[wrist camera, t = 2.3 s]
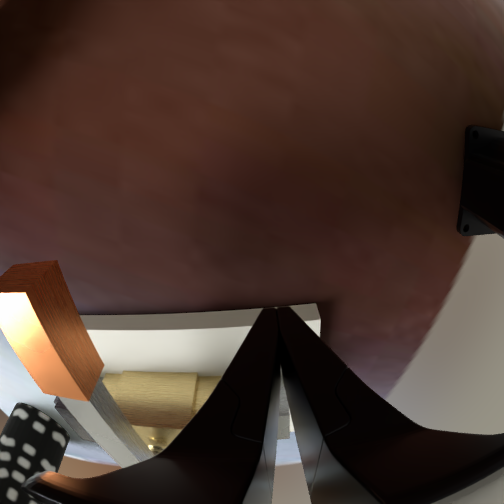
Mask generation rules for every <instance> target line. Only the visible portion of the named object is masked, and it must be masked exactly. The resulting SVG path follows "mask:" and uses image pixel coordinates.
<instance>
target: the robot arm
mask: <svg viewBox="0 0 504 504" xmlns="http://www.w3.org/2000/svg"><path fill="white" fill-rule="evenodd" d="M473 131H474V137H473V135H472V134H473ZM465 225H466V226H465ZM464 226H465V228H464ZM463 228H464V229H463ZM457 231H458V232H459V233H460V234H461V235H462V236H473V235H484V234H494V233H497V234H498V235H499V236H501V237H502V238H504V131H499V130H495V129H490V128H485V127H479V126H474V125H469V126H468V127H467V128H466V131H465V154H464V170H463V182H462V192H461V200H460V208H459V215H458V222H457ZM281 373H282V379H283V384H284V388H285V392H286V396H287V401H288V405H289V409H290V414H291V418H292V422H293V426H294V431H295V435H296V439H297V444H298V448H299V452H300V456H301V461H302V465H303V469H304V474H305V478H306V482H307V486H308V491H309V495H310V499H311V504H504V433H502V434H495V435H482V434H468V433H458V432H449V431H440V430H433V429H428V428H425V427H422V426H420V425H418V424H417V423H415V422H413V421H412V420H410V419H409V418H407V417H406V416H405V415H404V414H402V413H401V412H400V411H398V410H397V409H396V408H394V407H393V406H392V405H391V404H389V403H388V402H387V401H385V400H384V399H383V398H381V397H380V396H379V395H378V394H377V393H375V392H374V391H373V390H372V389H371V388H369V387H368V386H367V385H366V384H365V383H364V382H363V381H362V380H361V379H360V378H359V377H358V376H357V375H355V373H354V372H353V371H352V370H351V369H350V368H347V365H346V364H345V363H344V362H343V361H342V360H341V359H340V358H339V357H338V356H337V355H336V354H335V353H334V352H333V351H332V350H331V349H330V348H329V347H328V346H327V345H326V344H325V342H324V341H323V340H322V339H321V338H320V337H319V336H318V335H317V334H316V333H315V332H314V331H313V330H312V329H311V328H310V327H309V326H308V325H307V324H306V323H305V322H304V321H303V320H302V319H301V317H300V316H299V315H298V314H297V313H296V312H295V311H294V310H293V309H292V308H291V307H290V306H283V307H277V309H276V308H274V307H272V308H263V309H262V310H261V312H260V314H259V315H258V317H257V319H256V320H255V322H254V324H253V326H252V327H251V329H250V331H249V332H248V334H247V336H246V337H245V339H244V341H243V343H242V344H241V346H240V348H239V349H238V351H237V353H236V354H235V356H234V358H233V359H232V361H231V363H230V364H229V366H228V368H227V369H226V371H225V373H224V374H223V376H222V377H221V380H219V382H218V384H217V385H216V387H215V389H214V390H213V392H212V393H211V395H210V396H209V398H208V399H207V401H206V402H205V403H204V404H203V406H202V407H201V408H200V409H199V411H198V412H197V413H196V414H195V416H194V417H193V418H192V419H191V420H190V421H189V422H188V424H187V425H186V426H185V427H184V428H183V429H182V431H181V432H180V433H179V434H178V435H177V436H176V437H175V438H174V440H173V441H172V442H171V443H170V444H169V445H168V446H167V447H166V448H165V449H164V450H163V451H161V452H160V453H159V454H157V455H155V456H154V457H152V458H150V459H147V460H144V461H142V462H139V463H136V464H133V465H131V466H128V467H125V468H122V469H119V470H116V471H113V472H110V473H107V474H104V475H101V476H96V477H92V478H83V479H81V478H71V477H67V476H64V475H61V474H59V473H56V472H52V471H44V472H41V473H39V474H36V475H34V476H32V477H30V478H29V479H27V480H26V481H25V482H24V483H23V484H22V486H21V488H22V489H23V490H24V491H25V492H26V493H28V494H29V495H30V496H32V497H34V498H35V499H37V500H38V501H40V502H41V503H43V504H271V503H272V492H273V482H274V471H275V460H276V447H277V434H278V420H279V405H280V389H281ZM0 504H3V503H2V502H0Z"/></svg>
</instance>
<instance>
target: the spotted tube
mask: <svg viewBox="0 0 504 504" xmlns="http://www.w3.org/2000/svg"><path fill="white" fill-rule="evenodd" d="M69 439H70V437H69V435H68V433H67V432H66V431H65V430H64V429H63V428H62V427H61V426H60V425H59V424H58V423H57V422H55V421H54V420H53V419H51V418H50V417H48V416H47V415H46V414H44V413H42V412H41V411H39V410H37V409H35V408H33V407H31V406H29V405H26V404H23V403H17V404H16V405H15V407H14V409H13V411H12V413H11V415H10V417H9V419H8V421H7V423H6V425H5V427H4V429H3V431H2V433H1V435H0V502H2V503H3V504H43V503H41V502H40V501H38V500H37V499H35V498H34V497H32V496H30V495H29V494H28V493H26V492H25V491H24V490H23V489H22V488H21V486H22V484H23V483H24V482H25V481H26V480H27V479H29V478H30V477H32V476H34V475H36V474H39V473H41V472H44V471H52V472H56V473H58V470H59V467H60V464H61V461H62V459H63V456H64V453H65V450H66V448H67V445H68V442H69Z"/></svg>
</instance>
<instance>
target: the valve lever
mask: <svg viewBox="0 0 504 504" xmlns="http://www.w3.org/2000/svg"><path fill="white" fill-rule="evenodd" d="M0 327H1V329H2V331H3V332H4V334H5V336H6V338H7V339H8V341H9V343H10V344H11V346H12V348H13V349H14V351H15V352H16V354H17V356H18V357H19V359H20V360H21V362H22V363H23V365H24V366H25V368H26V369H27V371H28V372H29V374H30V375H31V376H32V378H33V379H34V381H35V382H36V383H37V385H38V386H39V388H40V389H41V390H42V392H43V393H45V394H50V395H55V396H58V397H59V398H60V400H61V401H62V402H63V404H64V405H65V406H66V407H67V409H68V410H69V411H70V412H71V414H72V415H73V416H74V417H75V418H76V420H77V421H78V422H79V423H80V424H81V425H82V427H83V428H84V429H85V430H86V431H87V432H88V433H89V434H90V436H91V437H92V438H93V439H94V440H95V441H96V442H97V443H98V444H99V445H100V446H101V447H102V448H103V449H104V450H105V451H106V453H107V454H108V455H109V456H110V457H111V458H112V459H114V460H115V461H116V462H117V463H118V464H119V465H120V466H121V467H122V468H125V467H128V466H131V465H133V464H136V463H139V462H142V461H144V460H147V459H150V458H152V457H154V456H155V455H157V454H159V453H160V452H161V451H163V450H164V448H162V447H159V446H155V445H149V446H147V445H146V444H145V442H144V441H143V440H142V439H141V437H140V436H139V435H138V433H137V432H136V431H135V429H134V428H133V427H132V425H131V424H130V422H129V421H128V420H127V418H126V417H125V415H124V414H123V412H122V411H121V410H120V408H119V407H118V405H117V404H116V402H115V401H114V399H113V398H112V396H111V395H110V393H109V391H108V390H107V388H106V387H105V385H104V383H103V382H102V380H101V379H100V374H101V372H102V370H103V368H104V363H103V361H102V359H101V358H100V356H99V354H98V352H97V350H96V348H95V346H94V344H93V342H92V340H91V338H90V336H89V334H88V332H87V330H86V328H85V326H84V324H83V322H82V320H81V317H80V315H79V313H78V311H77V309H76V306H75V304H74V302H73V299H72V297H71V295H70V292H69V290H68V287H67V285H66V282H65V280H64V277H63V275H62V272H61V270H60V267H59V264H58V261H57V260H54V261H44V262H35V263H25V264H16V265H13V266H12V267H10V268H9V269H8V270H7V271H6V272H5V273H4V274H3V275H2V276H1V277H0Z"/></svg>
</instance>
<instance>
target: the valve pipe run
mask: <svg viewBox="0 0 504 504" xmlns="http://www.w3.org/2000/svg"><path fill="white" fill-rule="evenodd" d="M221 377H222V376H198V373H197V372H142V371H123V372H122V374H112V373H106V374H105V376H104V377H100V379H101V380H102V382H103V383H104V385H105V387H106V388H107V390H108V391H109V393H110V395H111V396H112V398H113V399H114V401H115V402H116V404H117V405H118V407H119V408H120V410H121V411H122V412H123V414H124V415H125V417H126V418H127V420H128V421H129V422H130V424H131V425H132V427H133V428H134V429H135V431H136V432H137V433H138V435H139V436H140V437H141V439H142V440H143V441H144V442H145V444H146V445H147V446H149V445H155V446H159V447H162V448H164V449H165V448H166V447H167V446H168V445H169V444H170V443H171V442H172V441H173V440H174V438H175V437H176V436H177V435H178V434H179V433H180V432H181V431H182V429H183V428H184V427H185V426H186V425H187V424H188V422H189V421H190V420H191V419H192V418H193V417H194V416H195V414H196V413H197V412H198V411H199V409H200V408H201V407H202V406H203V404H204V403H205V402H206V401H207V399H208V398H209V396H210V395H211V393H212V392H213V390H214V389H215V387H216V385H217V384H218V382H219V380H221ZM54 403H55V404H56V405H55V408H56V410H57V411H58V412H59V413H60V414H61V416H62V417H63V418H64V419H65V420H66V421H67V423H68V424H69V425H70V426H71V427H72V428H73V429H74V430H75V431H76V433H77V434H78V435H79V436H80V437H81V438H82V439H83V440H88V441H92V442H96V441H95V440H94V439H93V438H92V437H91V436H90V434H89V433H88V432H87V431H86V430H85V429H84V428H83V427H82V425H81V424H80V423H79V422H78V421H77V420H76V418H75V417H74V416H73V415H72V414H71V412H70V411H69V410H68V409H67V407H66V406H65V405H64V404H63V402H62V401H61V400H60V398H59V397H58V396H56V399H55V401H54ZM289 438H290V413H289V405H288V401H287V396H286V392H285V388H284V384H283V379H282V377H281V389H280V405H279V420H278V434H277V440H278V439H289Z"/></svg>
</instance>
